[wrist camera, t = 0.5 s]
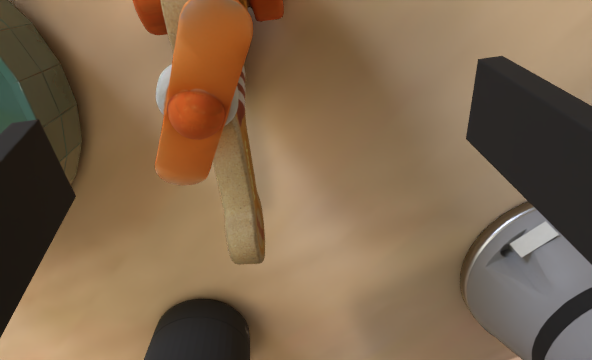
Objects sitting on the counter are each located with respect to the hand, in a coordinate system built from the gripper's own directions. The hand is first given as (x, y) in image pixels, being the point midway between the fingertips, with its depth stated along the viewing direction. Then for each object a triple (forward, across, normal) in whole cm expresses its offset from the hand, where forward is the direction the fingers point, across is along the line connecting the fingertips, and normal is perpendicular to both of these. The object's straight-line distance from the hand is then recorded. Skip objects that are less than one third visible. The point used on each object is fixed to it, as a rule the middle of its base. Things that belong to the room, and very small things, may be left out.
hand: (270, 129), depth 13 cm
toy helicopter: (+17, +2, +4) cm, 18 cm away
